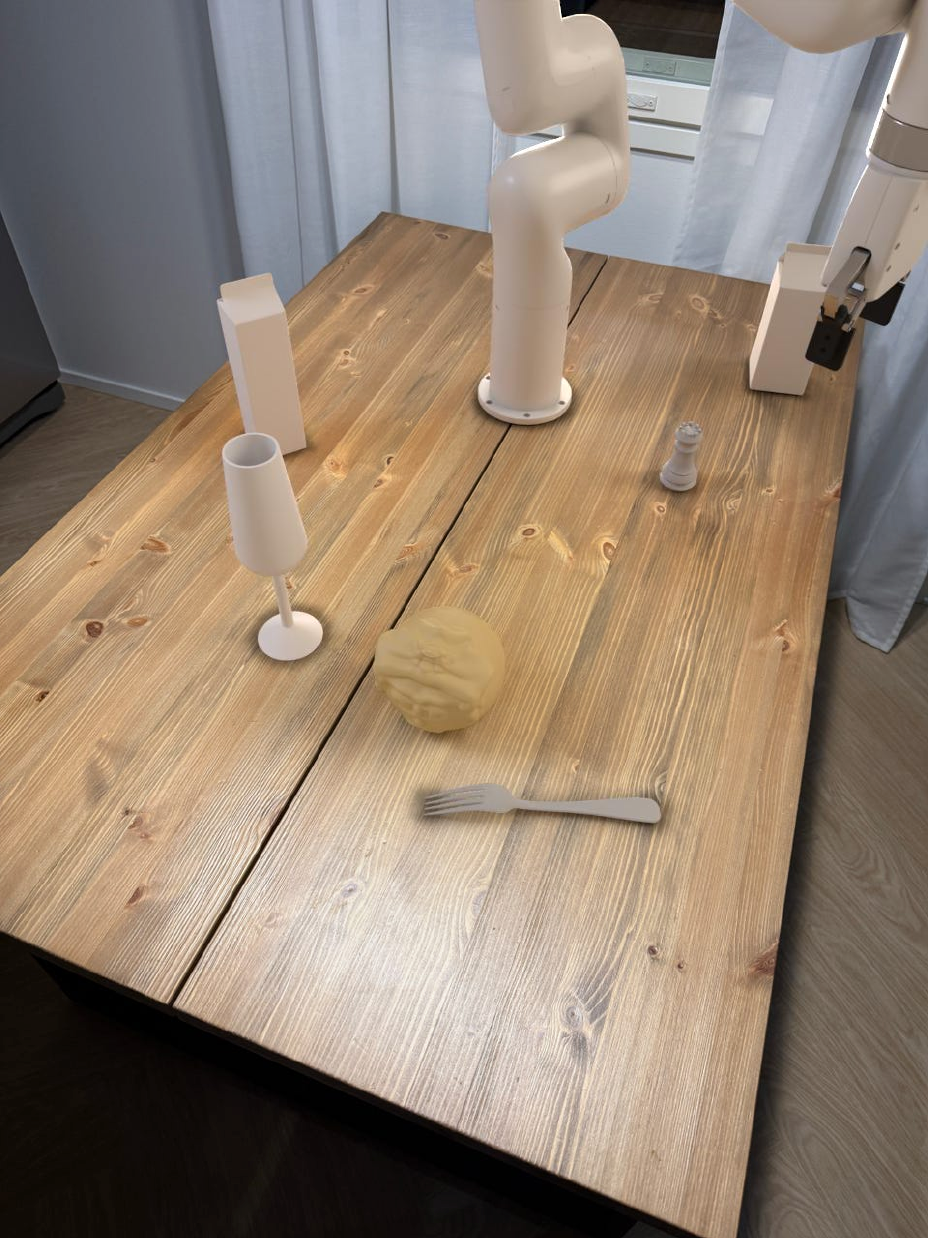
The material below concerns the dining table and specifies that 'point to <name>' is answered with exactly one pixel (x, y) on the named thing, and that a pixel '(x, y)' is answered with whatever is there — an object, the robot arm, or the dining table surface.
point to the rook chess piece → (682, 459)
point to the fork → (547, 804)
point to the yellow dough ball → (440, 668)
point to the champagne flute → (269, 536)
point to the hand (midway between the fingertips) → (847, 341)
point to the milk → (262, 360)
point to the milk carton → (789, 321)
